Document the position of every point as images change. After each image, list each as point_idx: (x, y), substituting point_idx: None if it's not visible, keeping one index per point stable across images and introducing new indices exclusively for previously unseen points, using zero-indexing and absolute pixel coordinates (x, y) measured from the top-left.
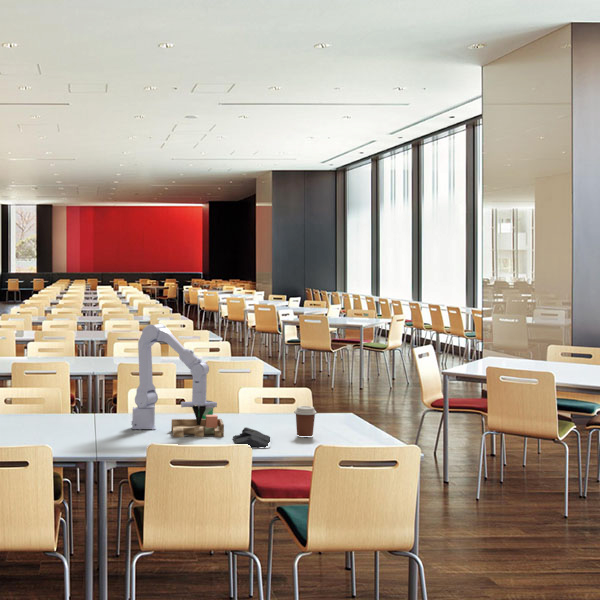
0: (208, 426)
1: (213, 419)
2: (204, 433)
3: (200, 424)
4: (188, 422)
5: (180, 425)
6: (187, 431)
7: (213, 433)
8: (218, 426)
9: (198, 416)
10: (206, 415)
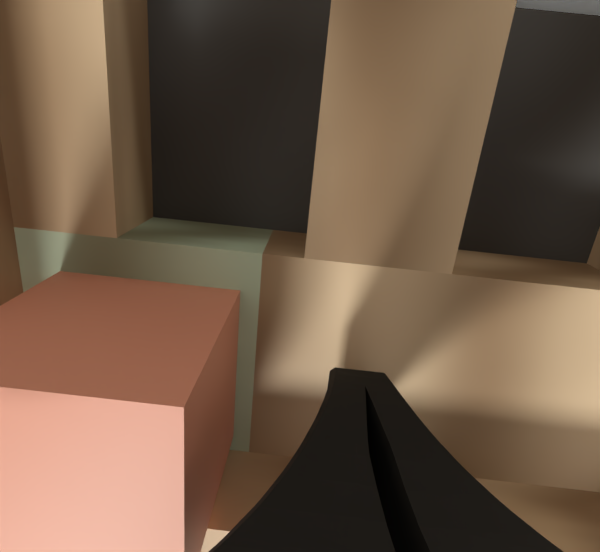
0: (201, 292)
1: (44, 345)
2: (283, 230)
3: None
4: None
5: (593, 493)
6: (539, 266)
7: (157, 219)
8: None
9: (398, 466)
10: (177, 539)
